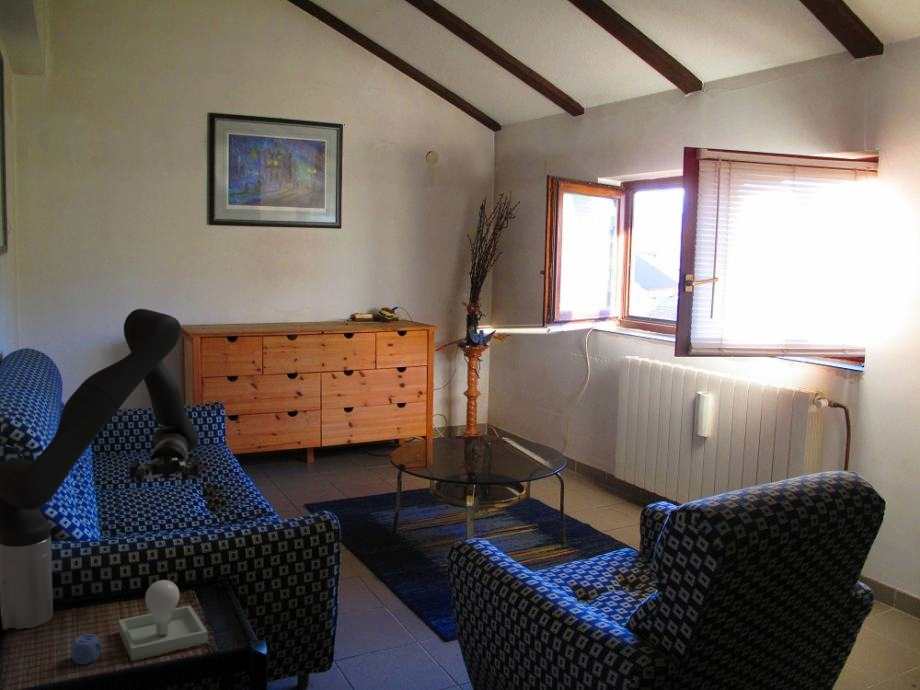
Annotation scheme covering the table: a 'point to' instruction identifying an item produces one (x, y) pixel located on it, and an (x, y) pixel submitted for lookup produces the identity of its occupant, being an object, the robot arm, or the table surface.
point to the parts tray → (148, 643)
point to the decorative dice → (86, 649)
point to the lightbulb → (162, 603)
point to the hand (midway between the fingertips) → (161, 478)
